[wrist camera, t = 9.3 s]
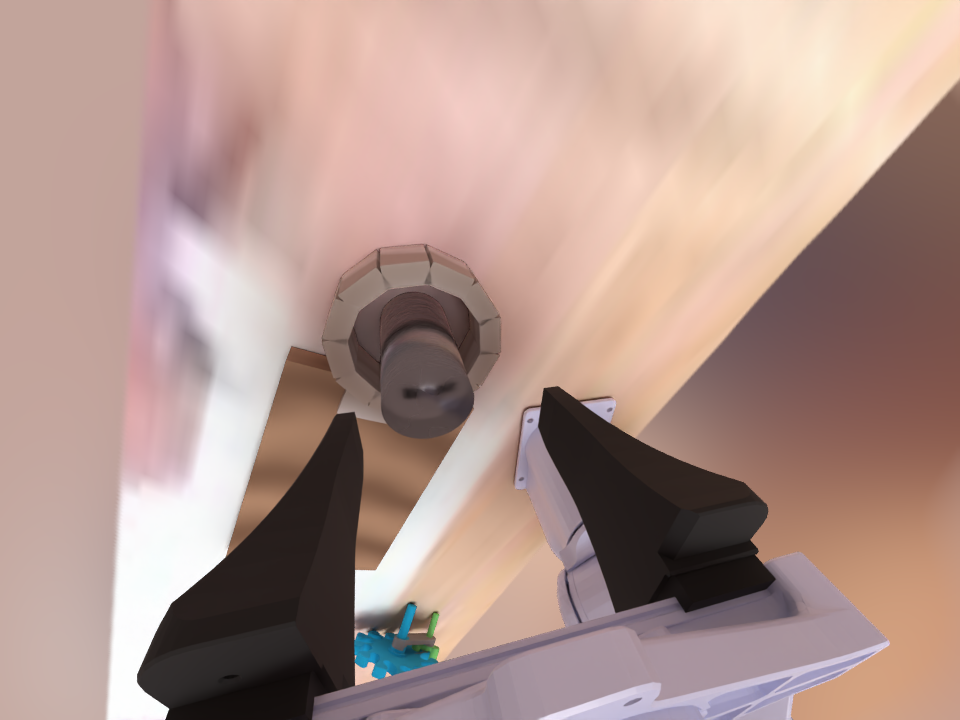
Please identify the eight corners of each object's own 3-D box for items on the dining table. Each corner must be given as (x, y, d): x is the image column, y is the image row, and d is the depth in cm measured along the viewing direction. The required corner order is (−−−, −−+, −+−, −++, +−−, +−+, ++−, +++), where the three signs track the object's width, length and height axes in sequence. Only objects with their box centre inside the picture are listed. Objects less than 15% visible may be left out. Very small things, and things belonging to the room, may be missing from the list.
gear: (329, 645, 38) (382, 703, 31) (354, 584, 40) (408, 626, 34) (403, 642, 45) (459, 689, 39) (421, 590, 47) (476, 626, 41)
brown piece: (375, 554, 34) (375, 587, 31) (229, 547, 29) (215, 586, 26) (530, 292, 23) (548, 312, 20) (335, 202, 17) (328, 215, 15)
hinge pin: (446, 348, 23) (473, 432, 17) (384, 353, 22) (386, 444, 16) (445, 290, 21) (475, 360, 15) (376, 294, 20) (375, 371, 14)
